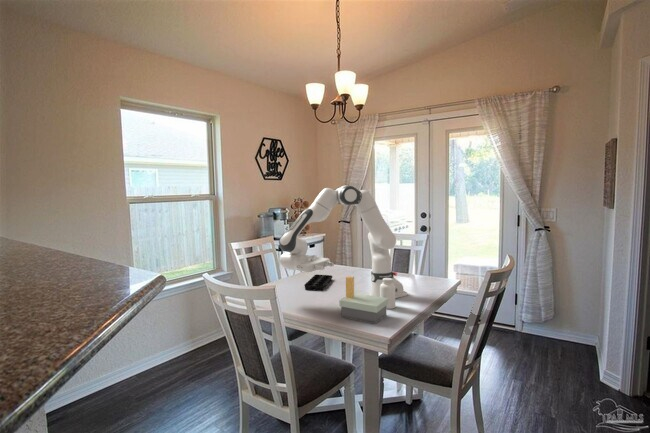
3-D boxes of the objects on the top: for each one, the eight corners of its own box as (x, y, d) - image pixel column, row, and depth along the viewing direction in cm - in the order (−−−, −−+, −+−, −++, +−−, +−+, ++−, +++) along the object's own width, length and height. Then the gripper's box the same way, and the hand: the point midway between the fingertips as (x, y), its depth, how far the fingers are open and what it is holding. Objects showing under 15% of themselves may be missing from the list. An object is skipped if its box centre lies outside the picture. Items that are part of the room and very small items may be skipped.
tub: (386, 315, 175) (386, 301, 174) (375, 323, 163) (375, 308, 163) (353, 309, 184) (353, 296, 183) (341, 317, 173) (341, 302, 172)
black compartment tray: (332, 279, 248) (332, 274, 248) (332, 291, 218) (332, 285, 218) (307, 279, 248) (307, 274, 248) (303, 291, 219) (303, 285, 218)
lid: (388, 304, 174) (388, 278, 173) (376, 312, 162) (376, 284, 161) (352, 298, 184) (352, 273, 183) (339, 306, 172) (339, 279, 171)
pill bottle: (393, 304, 191) (393, 276, 190) (396, 309, 183) (396, 280, 182) (378, 304, 191) (378, 277, 190) (381, 309, 183) (381, 280, 182)
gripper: (294, 260, 180) (317, 263, 173) (316, 254, 198) (338, 257, 191) (294, 273, 181) (317, 276, 174) (316, 266, 198) (338, 268, 191)
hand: (328, 266), depth 182 cm, fingers open, 8 cm apart
